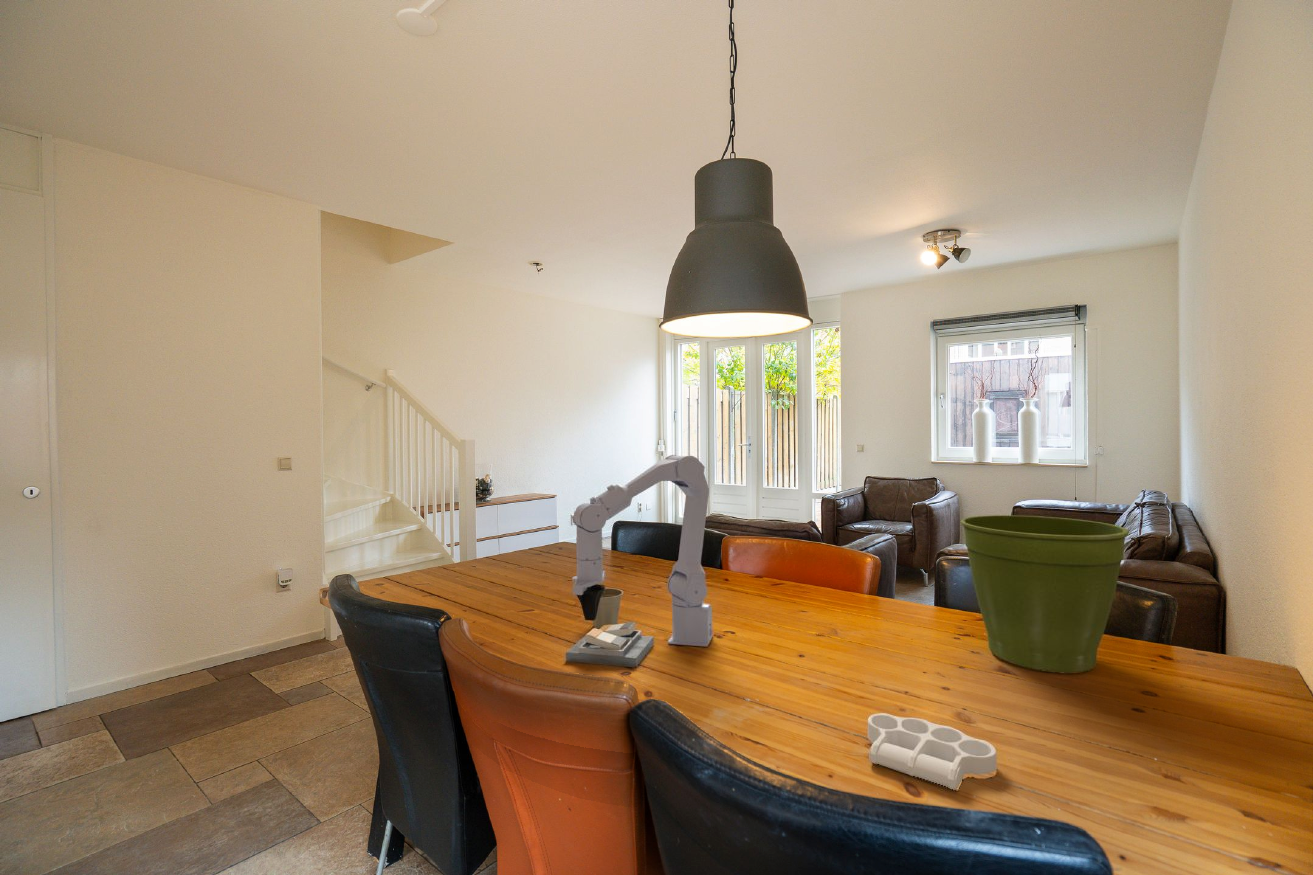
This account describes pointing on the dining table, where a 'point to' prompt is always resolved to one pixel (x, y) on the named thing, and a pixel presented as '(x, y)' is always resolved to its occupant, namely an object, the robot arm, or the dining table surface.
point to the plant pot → (1044, 586)
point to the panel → (612, 651)
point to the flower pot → (608, 608)
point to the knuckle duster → (928, 749)
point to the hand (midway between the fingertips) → (590, 619)
